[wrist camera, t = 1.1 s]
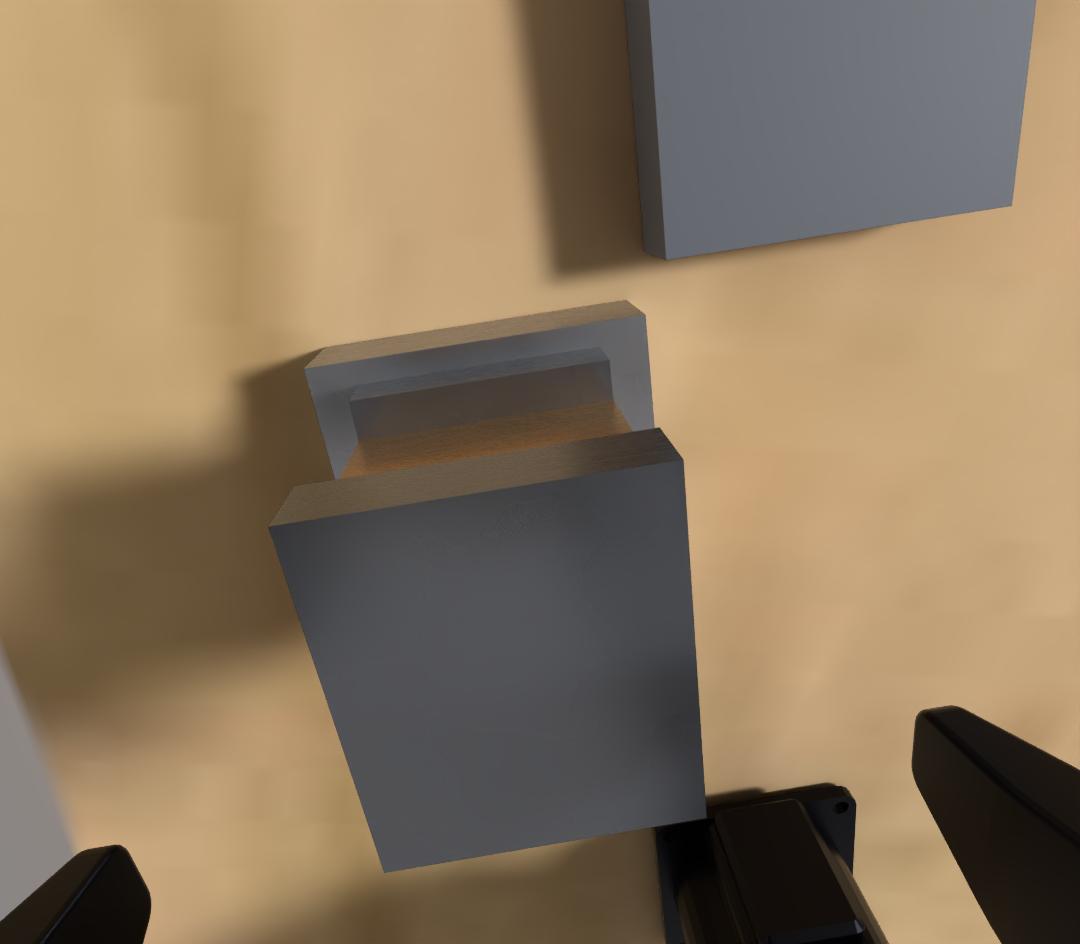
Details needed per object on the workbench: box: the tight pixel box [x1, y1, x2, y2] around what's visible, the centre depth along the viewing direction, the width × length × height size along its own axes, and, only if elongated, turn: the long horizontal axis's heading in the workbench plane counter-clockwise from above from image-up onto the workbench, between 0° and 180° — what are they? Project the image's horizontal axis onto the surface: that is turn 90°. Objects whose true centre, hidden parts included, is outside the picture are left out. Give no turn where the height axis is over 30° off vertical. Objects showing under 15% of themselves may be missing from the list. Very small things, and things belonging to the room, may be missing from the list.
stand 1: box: [304, 300, 655, 480], centre depth 16 cm, size 7×7×2 cm
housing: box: [268, 346, 707, 873], centre depth 12 cm, size 6×5×6 cm
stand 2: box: [625, 0, 1036, 260], centre depth 13 cm, size 7×7×2 cm
